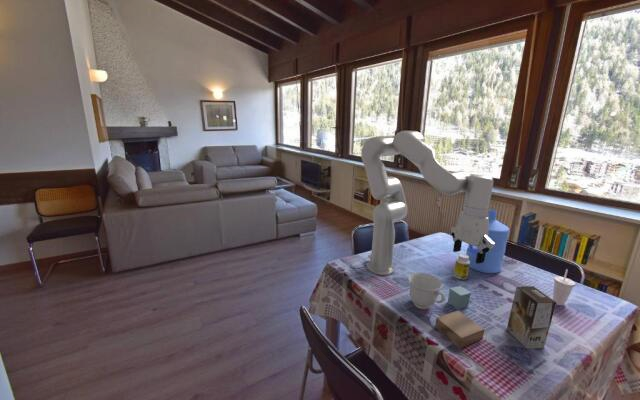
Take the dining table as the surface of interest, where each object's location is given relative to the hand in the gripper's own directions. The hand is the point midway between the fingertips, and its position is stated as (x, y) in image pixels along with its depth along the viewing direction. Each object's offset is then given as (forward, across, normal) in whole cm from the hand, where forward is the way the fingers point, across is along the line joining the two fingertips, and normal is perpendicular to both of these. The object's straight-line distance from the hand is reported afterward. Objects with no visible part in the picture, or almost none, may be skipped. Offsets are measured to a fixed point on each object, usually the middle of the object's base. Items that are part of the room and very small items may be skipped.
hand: (467, 256), depth 104 cm
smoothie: (+20, +12, +39) cm, 46 cm away
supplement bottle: (+20, -16, +18) cm, 31 cm away
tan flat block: (+20, +11, -13) cm, 26 cm away
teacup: (+20, -4, -13) cm, 24 cm away
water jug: (+20, -20, +37) cm, 46 cm away
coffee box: (+20, +20, +6) cm, 29 cm away
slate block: (+20, -1, 0) cm, 20 cm away
